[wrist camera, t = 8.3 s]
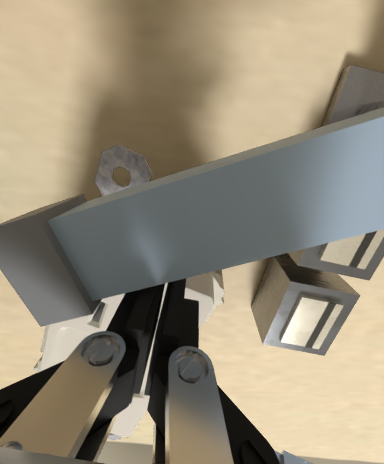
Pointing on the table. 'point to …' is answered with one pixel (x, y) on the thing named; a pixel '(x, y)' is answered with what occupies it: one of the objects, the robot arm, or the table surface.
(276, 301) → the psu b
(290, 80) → the table surface
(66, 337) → the electrical outlet
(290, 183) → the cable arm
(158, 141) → the table surface
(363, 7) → the table surface
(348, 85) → the post
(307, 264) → the frame
